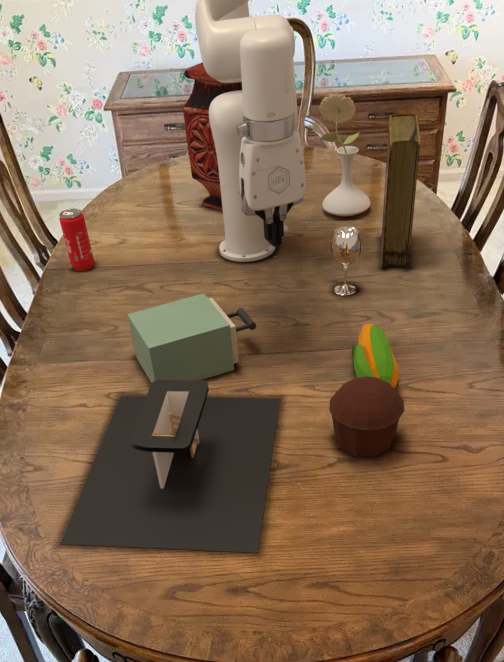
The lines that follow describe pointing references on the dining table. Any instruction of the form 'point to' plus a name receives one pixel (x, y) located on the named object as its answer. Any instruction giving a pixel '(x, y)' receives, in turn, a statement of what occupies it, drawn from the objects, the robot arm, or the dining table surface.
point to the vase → (204, 131)
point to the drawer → (233, 328)
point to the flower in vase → (343, 160)
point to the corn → (375, 356)
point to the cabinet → (182, 340)
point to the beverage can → (76, 239)
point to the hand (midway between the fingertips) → (274, 242)
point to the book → (400, 188)
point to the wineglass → (345, 254)
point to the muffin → (366, 415)
